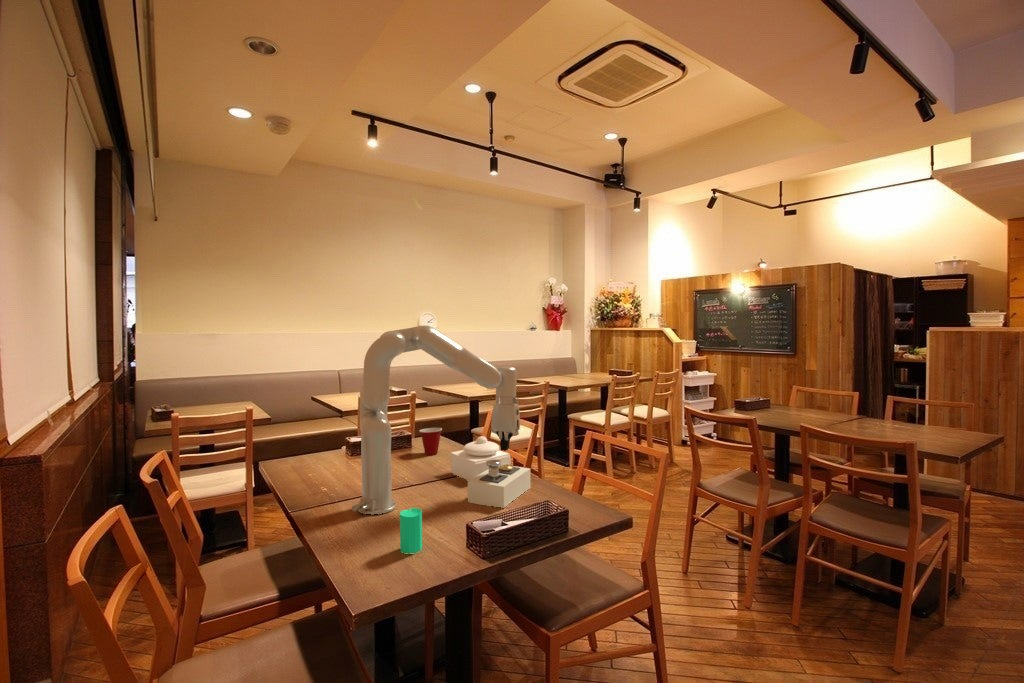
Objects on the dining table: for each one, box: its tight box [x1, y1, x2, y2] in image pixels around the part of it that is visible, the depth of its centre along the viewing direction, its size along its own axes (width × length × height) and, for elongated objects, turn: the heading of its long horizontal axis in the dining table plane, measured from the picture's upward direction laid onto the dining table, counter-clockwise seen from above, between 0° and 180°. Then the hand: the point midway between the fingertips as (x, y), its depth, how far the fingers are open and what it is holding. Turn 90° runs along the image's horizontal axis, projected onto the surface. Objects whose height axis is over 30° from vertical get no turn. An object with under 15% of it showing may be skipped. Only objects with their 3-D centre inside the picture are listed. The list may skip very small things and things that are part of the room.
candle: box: [399, 506, 423, 554], centre depth 132 cm, size 6×6×12 cm
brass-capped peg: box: [500, 464, 514, 472], centre depth 177 cm, size 5×5×8 cm
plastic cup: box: [419, 427, 443, 456], centre depth 228 cm, size 11×11×12 cm
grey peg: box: [486, 460, 501, 480], centre depth 168 cm, size 5×5×8 cm
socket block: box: [467, 464, 532, 509], centre depth 173 cm, size 22×14×8 cm, turn 154°
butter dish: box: [450, 435, 512, 481], centre depth 197 cm, size 18×18×16 cm
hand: (504, 449), depth 177 cm, fingers closed
